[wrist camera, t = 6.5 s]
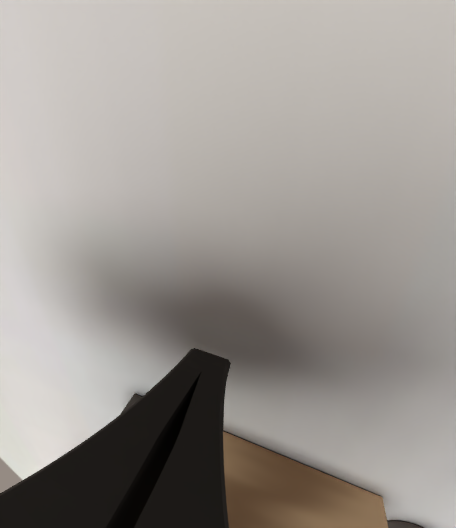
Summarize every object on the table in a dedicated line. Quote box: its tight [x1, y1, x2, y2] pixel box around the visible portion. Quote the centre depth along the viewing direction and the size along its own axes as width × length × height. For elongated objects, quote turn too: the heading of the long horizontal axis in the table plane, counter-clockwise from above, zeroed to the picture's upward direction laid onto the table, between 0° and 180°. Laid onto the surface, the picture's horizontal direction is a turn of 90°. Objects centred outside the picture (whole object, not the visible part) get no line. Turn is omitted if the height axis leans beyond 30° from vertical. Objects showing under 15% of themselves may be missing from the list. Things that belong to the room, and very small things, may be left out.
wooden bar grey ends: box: [120, 394, 388, 528], centre depth 12 cm, size 12×2×4 cm, turn 77°
